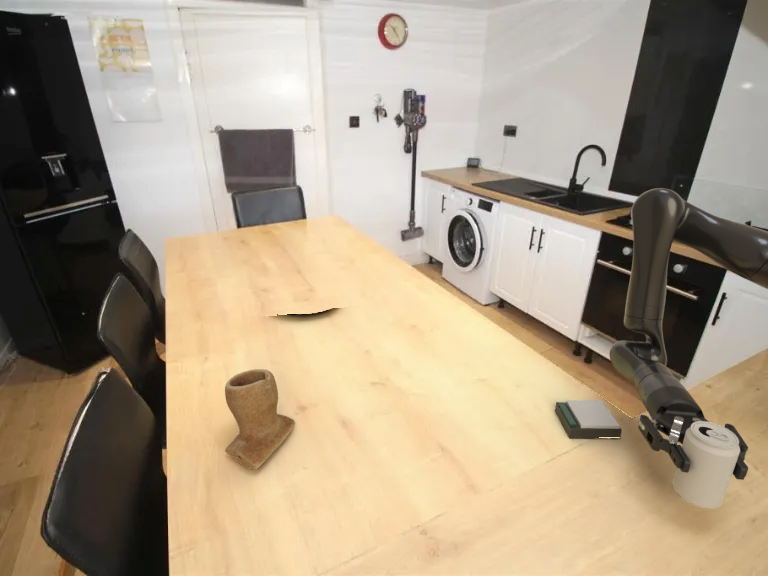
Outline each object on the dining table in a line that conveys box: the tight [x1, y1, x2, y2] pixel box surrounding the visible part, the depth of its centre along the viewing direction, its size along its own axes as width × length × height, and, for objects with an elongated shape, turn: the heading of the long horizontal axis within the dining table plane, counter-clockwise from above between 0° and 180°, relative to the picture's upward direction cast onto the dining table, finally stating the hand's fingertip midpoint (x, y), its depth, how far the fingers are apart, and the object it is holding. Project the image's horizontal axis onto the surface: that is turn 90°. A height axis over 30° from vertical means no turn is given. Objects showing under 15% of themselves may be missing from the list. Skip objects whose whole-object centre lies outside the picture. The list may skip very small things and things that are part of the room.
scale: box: [554, 399, 623, 440], centre depth 87 cm, size 10×9×3 cm
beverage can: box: [671, 421, 740, 510], centre depth 62 cm, size 6×6×12 cm
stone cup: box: [224, 368, 296, 470], centre depth 82 cm, size 15×12×15 cm
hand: (714, 471), depth 60 cm, fingers closed on beverage can, 6 cm apart
